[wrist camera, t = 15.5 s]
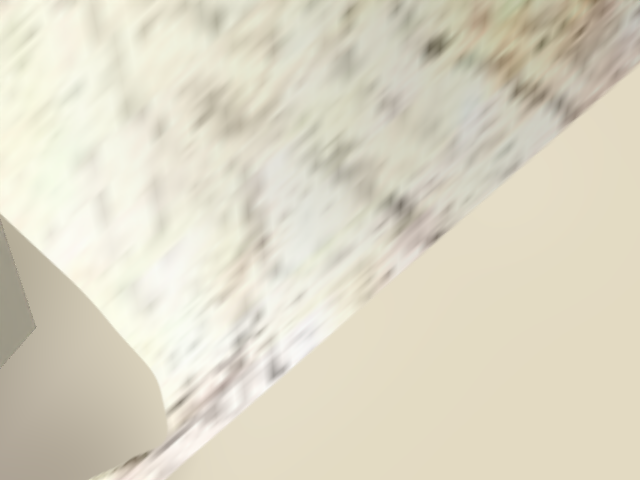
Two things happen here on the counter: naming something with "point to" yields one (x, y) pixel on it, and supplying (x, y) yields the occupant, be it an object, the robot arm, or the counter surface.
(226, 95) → the counter surface
